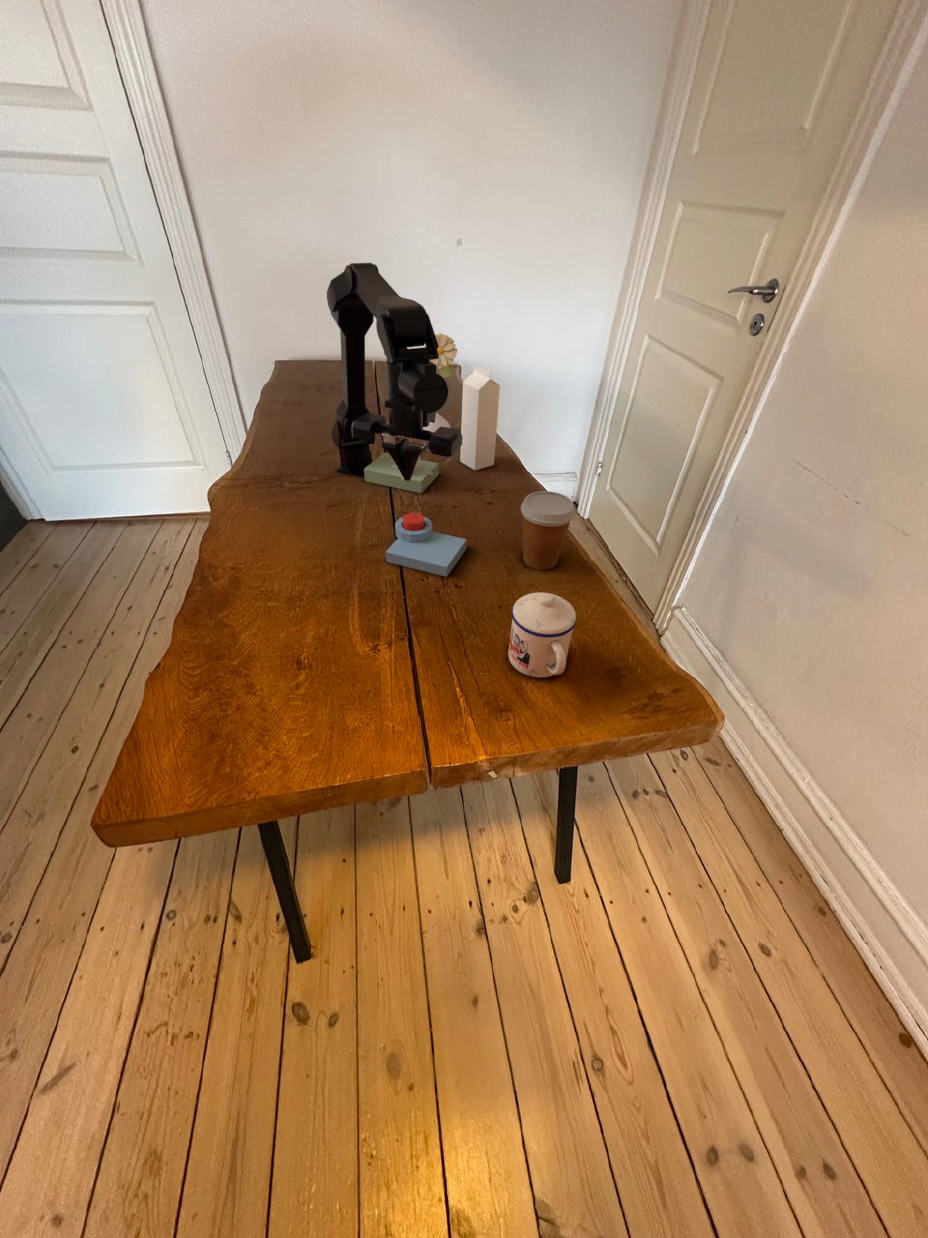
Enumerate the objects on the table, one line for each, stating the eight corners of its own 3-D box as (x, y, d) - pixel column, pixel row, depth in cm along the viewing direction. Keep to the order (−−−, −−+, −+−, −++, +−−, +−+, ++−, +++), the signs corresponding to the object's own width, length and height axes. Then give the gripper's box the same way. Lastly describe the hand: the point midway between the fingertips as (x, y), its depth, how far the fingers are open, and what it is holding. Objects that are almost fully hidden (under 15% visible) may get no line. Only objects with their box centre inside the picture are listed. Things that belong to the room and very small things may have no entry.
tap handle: (409, 476, 120) (408, 457, 118) (403, 474, 121) (402, 456, 118) (420, 465, 125) (420, 447, 122) (414, 464, 125) (414, 446, 122)
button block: (378, 560, 100) (377, 541, 98) (405, 530, 109) (405, 512, 106) (446, 577, 97) (447, 558, 95) (469, 545, 105) (469, 527, 103)
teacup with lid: (498, 643, 84) (504, 582, 77) (552, 633, 87) (563, 573, 79) (526, 700, 76) (536, 637, 68) (585, 688, 78) (602, 626, 70)
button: (399, 529, 102) (399, 520, 101) (408, 519, 105) (408, 511, 104) (419, 533, 101) (419, 525, 100) (427, 523, 104) (427, 515, 103)
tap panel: (362, 483, 124) (361, 470, 122) (384, 464, 132) (384, 451, 130) (423, 496, 120) (423, 483, 118) (442, 476, 128) (443, 463, 126)
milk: (474, 471, 131) (479, 374, 116) (459, 461, 134) (462, 366, 120) (494, 464, 134) (501, 369, 119) (479, 456, 137) (484, 362, 123)
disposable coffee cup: (532, 580, 97) (541, 521, 90) (505, 553, 104) (511, 495, 96) (575, 567, 101) (587, 509, 93) (546, 542, 107) (555, 485, 100)
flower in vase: (400, 437, 144) (396, 333, 128) (419, 423, 153) (418, 323, 136) (446, 446, 141) (448, 340, 125) (462, 431, 149) (466, 330, 133)
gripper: (475, 386, 93) (470, 471, 103) (377, 369, 98) (382, 453, 108) (451, 407, 85) (449, 497, 95) (345, 388, 90) (354, 476, 100)
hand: (407, 479), depth 100 cm, fingers closed
